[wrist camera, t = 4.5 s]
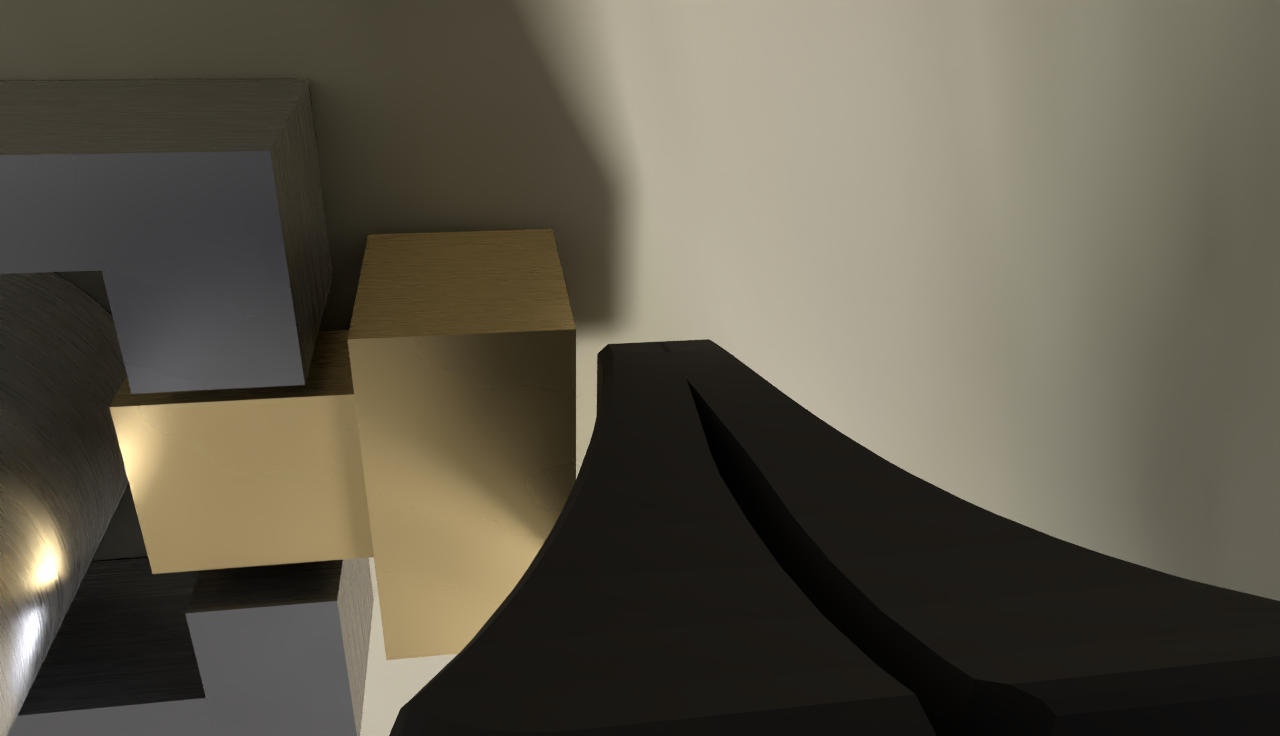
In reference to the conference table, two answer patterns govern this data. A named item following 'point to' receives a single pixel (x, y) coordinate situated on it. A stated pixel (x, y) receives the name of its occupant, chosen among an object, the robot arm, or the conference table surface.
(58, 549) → the silver knobbed cylinder
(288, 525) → the key
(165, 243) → the block
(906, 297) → the conference table surface
